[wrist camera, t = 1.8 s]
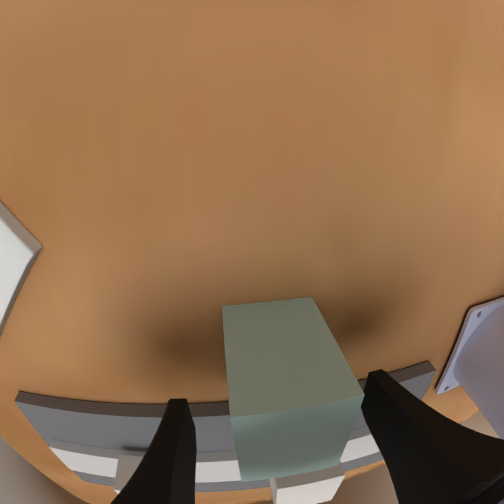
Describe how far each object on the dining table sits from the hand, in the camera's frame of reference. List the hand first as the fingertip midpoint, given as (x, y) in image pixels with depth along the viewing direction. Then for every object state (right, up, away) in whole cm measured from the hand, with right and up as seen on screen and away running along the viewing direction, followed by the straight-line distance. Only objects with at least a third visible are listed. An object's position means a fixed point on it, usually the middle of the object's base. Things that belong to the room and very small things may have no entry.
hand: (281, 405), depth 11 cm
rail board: (-3, -8, +7) cm, 11 cm away
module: (0, +1, +4) cm, 4 cm away
